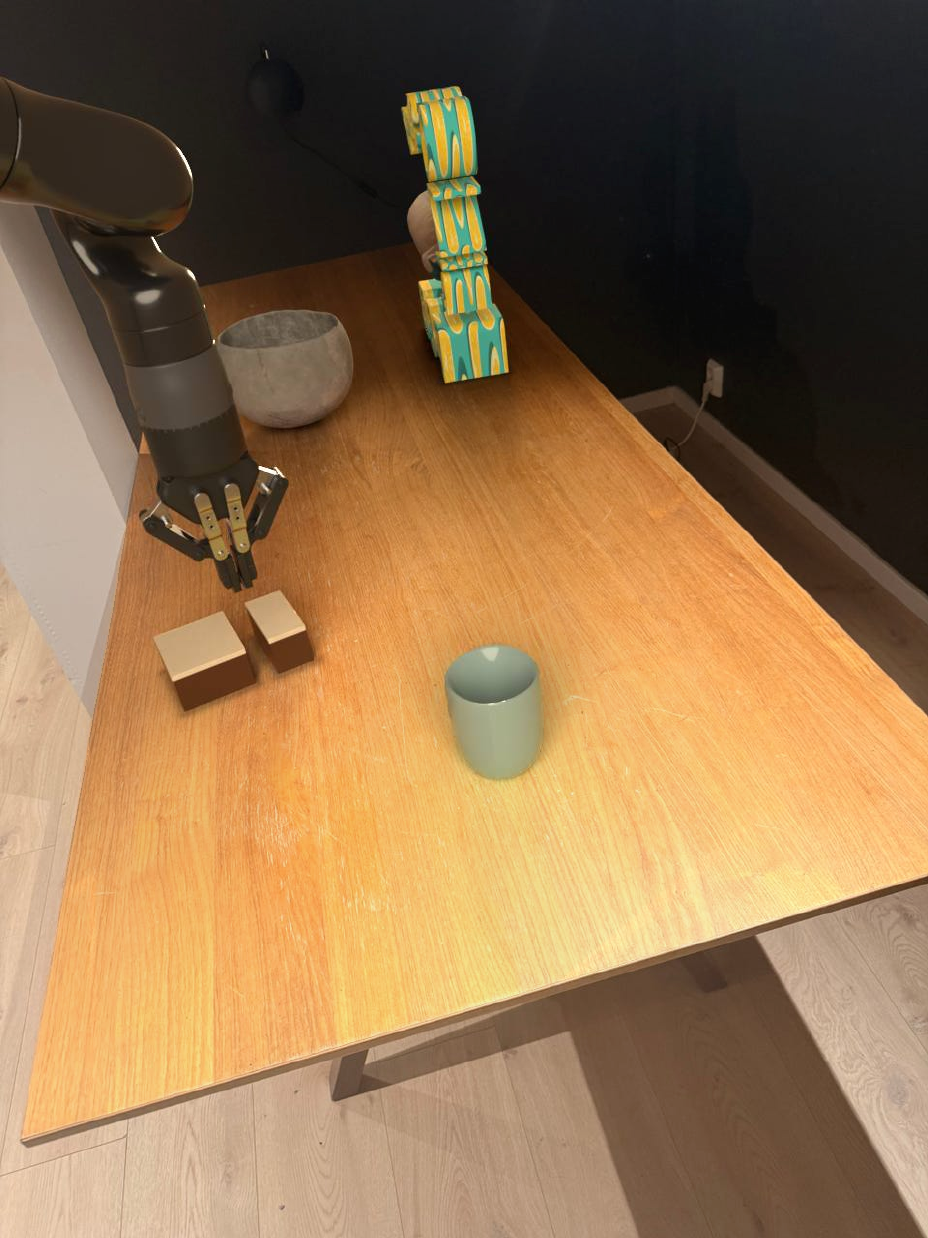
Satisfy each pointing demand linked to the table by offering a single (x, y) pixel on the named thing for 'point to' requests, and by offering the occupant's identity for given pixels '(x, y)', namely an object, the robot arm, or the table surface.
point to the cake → (204, 660)
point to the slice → (279, 631)
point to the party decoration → (453, 238)
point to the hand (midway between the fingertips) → (241, 586)
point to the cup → (496, 710)
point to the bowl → (287, 366)
